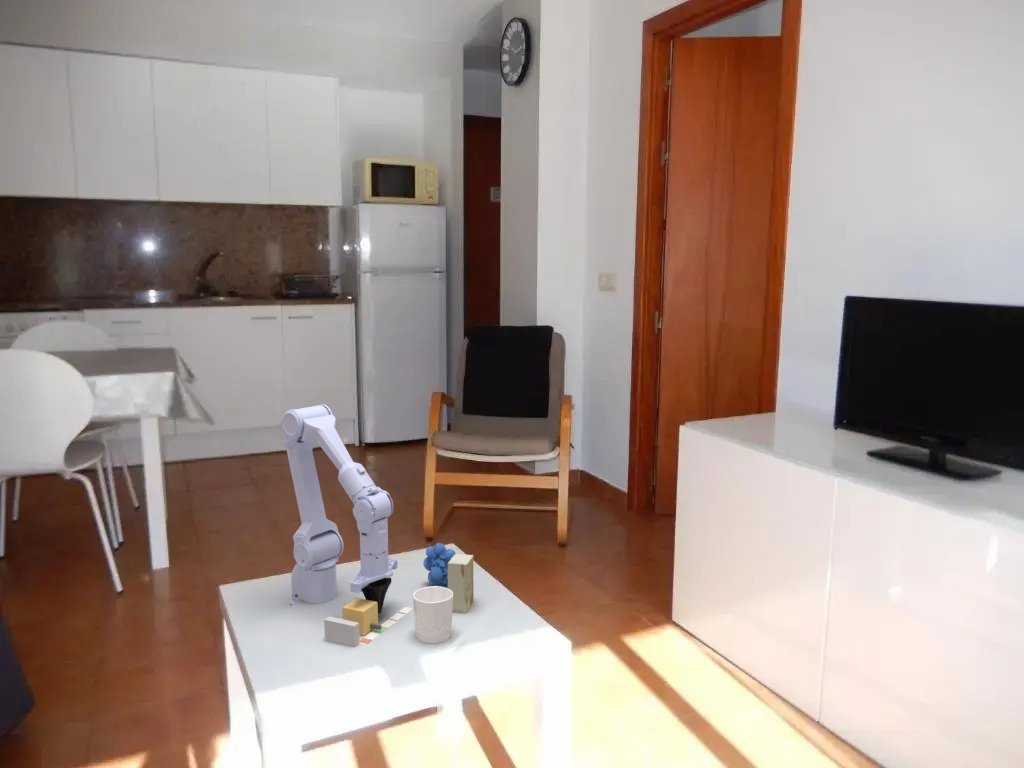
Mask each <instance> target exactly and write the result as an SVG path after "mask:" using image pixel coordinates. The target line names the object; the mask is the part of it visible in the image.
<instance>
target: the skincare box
mask: <svg viewBox="0 0 1024 768" xmlns="http://www.w3.org/2000/svg"><path fill="white" fill-rule="evenodd" d="M448 589H450V590H451V591H452V592H453V609H452V614H453V613H454V614H462V615H463V614H465V615H467V614H468V613H469V611H470V609H471V607H472V606H473V604H474V603H475V602H474V554H461V553H456V554H455V555H454V556H453V557H452V558H451V560H450V561H449V562H448Z"/></svg>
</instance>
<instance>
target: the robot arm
mask: <svg viewBox="0 0 1024 768" xmlns="http://www.w3.org/2000/svg"><path fill="white" fill-rule="evenodd" d="M336 424H337V419H336V416H335V415H334V414H333V411H332V410H331V408H330V407H329V406H328V405H326V404H324V403H321V404H318V405H314V406H308V407H300V408H296V409H294V408H293V409H288V410H286V411H284V413H283V415H282V417H281V420H280V422H279V425H280V426H279V427H280V430H281V435H282V439H283V444H284V448H285V450H286V454H287V460H288V463H289V469H290V473H291V479H292V482H293V483H292V484H293V488H294V493H295V497H296V503H297V507H298V511H299V517H300V522H301V524H300V526H299V527H298V528H297V530H296V532H294V534H293V536H292V539H293V544H294V545H293V557H294V560H295V562H296V564H295V565H293V566H294V567H293V568H292V571H291V577H290V579H291V601H290V602H289V605H290V606H293V605H295V604H297V602H300V601H303V602H306V603H309V604H315V605H317V604H326V603H329V602H332V601H334V600H336V598H337V597H338V589H337V588H338V584H337V583H338V581H337V563H338V562H339V561H340V559H339V557H341V556H342V554H343V552H344V545H345V544H344V540H343V537H342V535H340V532H339V530H338V526H337V524H336V523H335V522H334V521H332V520H329V519H328V518H327V515H326V511H325V510H326V509H325V505H324V501H323V496H322V491H321V486H320V481H319V476H318V471H317V467H316V462H315V458H314V451H313V449H314V447H315V446H316V444H317V445H319V446H320V448H321V449H322V451H323V452H324V453H325V455H326V456H327V457H328V458H329V460H330V461H331V462H332V463H333V465H334V466H335V468H336V469H337V470H338V476H337V480H338V482H339V483H340V485H341V487H343V490H344V491H345V493H346V495H347V496H348V498H349V499H350V500H351V502H352V503H353V505H354V506H353V508H352V513H353V517H354V519H355V520H356V527H357V530H358V532H359V551H360V552H359V553H360V554H359V556H360V557H359V560H360V562H359V563H360V570H359V572H358V573H357V575H356V576H355V578H354V579H353V580H352V581H350V583H349V585H350V586H349V589H350V593H356V594H360V593H362V594H363V596H364V598H365V600H370V601H375V602H378V615H380V614H381V613H382V612H383V611H382V610H383V607H384V603H385V599H386V596H387V592H388V590H389V588H390V586H391V584H392V576H393V575H394V572H393V571H392V570H397V569H398V559H396V558H395V559H394V558H390V557H389V529H388V528H389V527H388V526H389V525H388V524H389V522H388V520H389V519H388V518H389V517H391V516H392V514H393V512H394V501H393V499H392V497H391V495H390V493H389V492H388V491H386V490H384V489H382V488H380V487H379V486H376V483H375V482H374V481H373V479H372V478H371V476H370V475H369V473H368V472H367V470H366V468H365V467H364V466H363V464H361V463H359V462H355V461H354V460H353V458H352V457H351V455H350V453H349V451H348V450H347V448H346V446H345V444H344V442H343V441H342V438H341V436H340V435H339V433H338V432H337V431H338V430H337V429H336V427H337V425H336Z"/></svg>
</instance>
